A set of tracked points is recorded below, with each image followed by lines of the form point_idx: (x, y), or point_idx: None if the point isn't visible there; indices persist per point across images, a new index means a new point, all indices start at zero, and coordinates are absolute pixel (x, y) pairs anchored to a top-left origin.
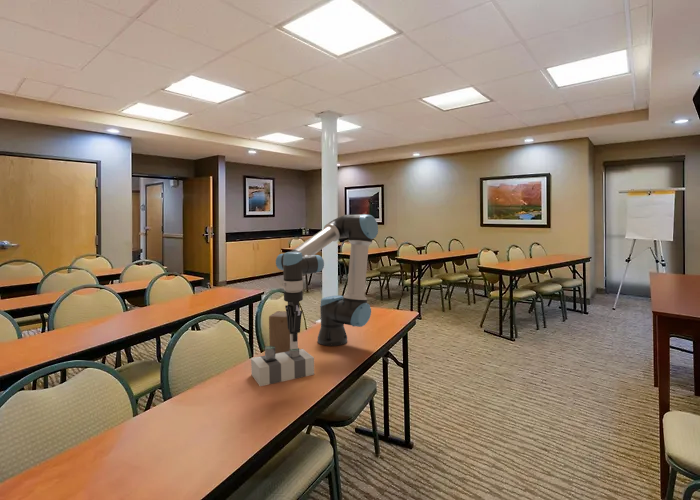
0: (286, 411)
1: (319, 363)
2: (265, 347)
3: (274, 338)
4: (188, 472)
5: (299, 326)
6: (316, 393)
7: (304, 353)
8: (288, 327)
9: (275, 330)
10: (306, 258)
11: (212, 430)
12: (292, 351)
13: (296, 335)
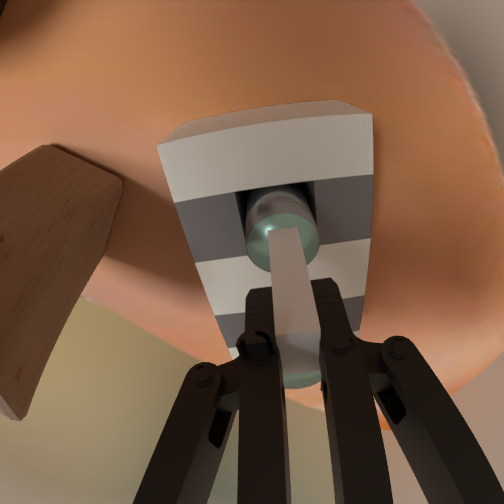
0: (491, 259)
1: (192, 36)
2: (287, 387)
3: (66, 309)
4: (488, 354)
5: (446, 403)
6: (478, 163)
7: (265, 150)
8: (229, 413)
9: (47, 341)
10: None
11: (446, 354)
12: (310, 257)
13: (349, 326)
